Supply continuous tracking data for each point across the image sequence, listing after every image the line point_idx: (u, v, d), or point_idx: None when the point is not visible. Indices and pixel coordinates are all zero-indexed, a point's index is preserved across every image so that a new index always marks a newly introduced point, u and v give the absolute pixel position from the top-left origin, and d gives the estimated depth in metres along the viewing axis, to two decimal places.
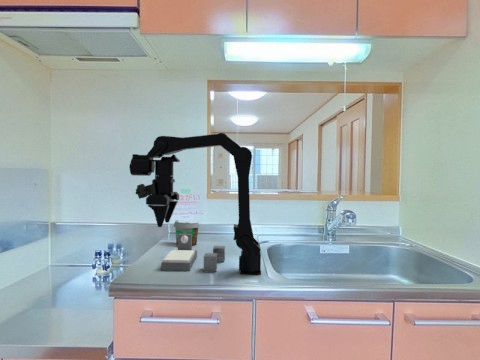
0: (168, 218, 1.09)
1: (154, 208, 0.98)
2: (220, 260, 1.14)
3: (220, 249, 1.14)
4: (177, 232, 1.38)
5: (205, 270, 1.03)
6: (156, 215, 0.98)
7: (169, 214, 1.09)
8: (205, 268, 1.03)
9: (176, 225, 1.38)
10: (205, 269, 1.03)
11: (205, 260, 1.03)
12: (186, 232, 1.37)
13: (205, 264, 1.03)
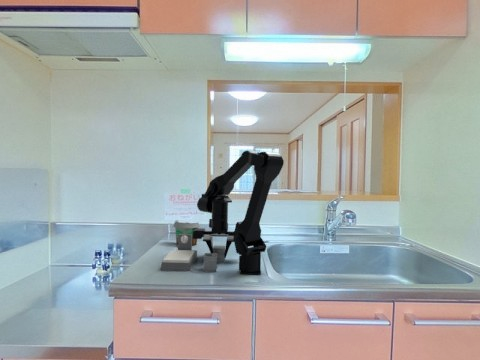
0: None
1: None
2: (220, 260, 1.14)
3: (220, 249, 1.14)
4: (177, 232, 1.38)
5: (205, 270, 1.03)
6: None
7: (225, 251, 1.16)
8: (205, 268, 1.03)
9: (176, 225, 1.38)
10: (205, 269, 1.03)
11: (205, 260, 1.03)
12: (186, 232, 1.37)
13: (205, 264, 1.03)
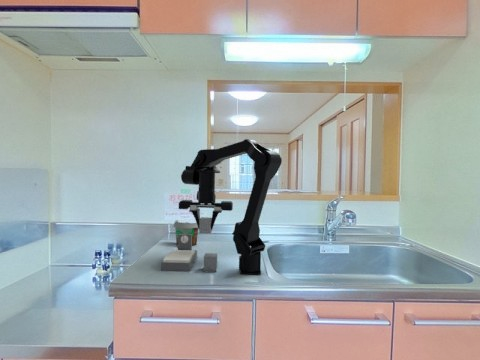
0: (211, 225, 1.15)
1: None
2: (206, 231, 1.14)
3: (206, 220, 1.14)
4: (177, 232, 1.38)
5: (205, 270, 1.03)
6: None
7: None
8: (205, 268, 1.03)
9: (176, 225, 1.38)
10: (205, 269, 1.03)
11: (205, 260, 1.03)
12: (186, 232, 1.37)
13: (205, 264, 1.03)
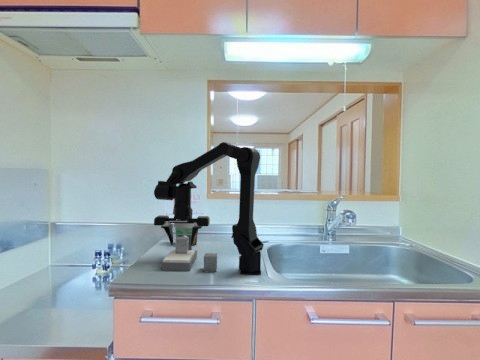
0: None
1: None
2: (183, 251, 1.12)
3: (183, 240, 1.12)
4: (177, 232, 1.38)
5: (205, 270, 1.03)
6: None
7: None
8: (205, 268, 1.03)
9: (176, 225, 1.38)
10: (205, 269, 1.03)
11: (205, 260, 1.03)
12: (186, 232, 1.37)
13: (205, 264, 1.03)
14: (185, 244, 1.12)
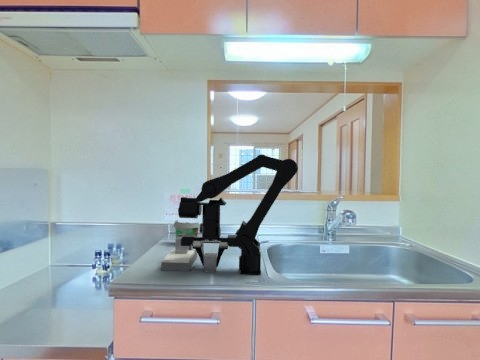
0: (216, 263, 1.05)
1: None
2: (183, 251, 1.12)
3: None
4: (177, 232, 1.38)
5: (205, 270, 1.03)
6: None
7: (217, 259, 1.05)
8: (205, 268, 1.03)
9: (176, 225, 1.38)
10: (205, 269, 1.03)
11: (205, 260, 1.03)
12: (186, 232, 1.37)
13: (205, 264, 1.03)
14: None
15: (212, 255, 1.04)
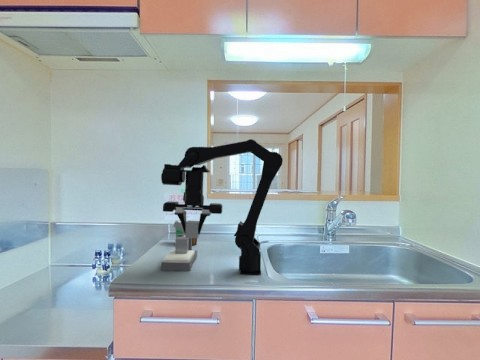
0: None
1: None
2: (183, 251, 1.12)
3: (183, 240, 1.12)
4: (177, 232, 1.38)
5: (187, 236, 1.04)
6: None
7: None
8: (187, 234, 1.04)
9: (176, 225, 1.38)
10: (187, 235, 1.04)
11: (187, 226, 1.04)
12: None
13: (187, 230, 1.04)
14: (185, 244, 1.12)
15: (194, 222, 1.05)
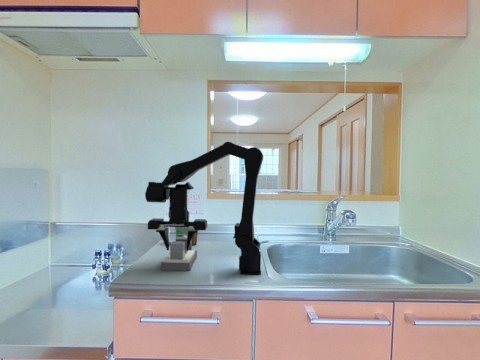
0: None
1: None
2: None
3: (183, 240, 1.12)
4: (177, 232, 1.38)
5: (172, 257, 1.05)
6: None
7: (187, 242, 1.06)
8: (172, 256, 1.05)
9: None
10: (172, 257, 1.05)
11: (172, 248, 1.05)
12: (186, 232, 1.37)
13: (172, 252, 1.05)
14: (185, 244, 1.12)
15: (179, 243, 1.06)
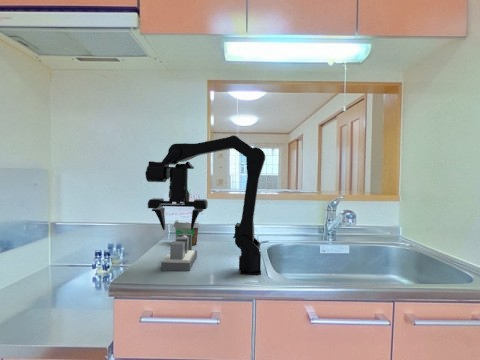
0: None
1: None
2: None
3: (183, 240, 1.12)
4: (177, 232, 1.38)
5: (172, 257, 1.05)
6: None
7: None
8: (172, 256, 1.05)
9: (176, 225, 1.38)
10: (172, 257, 1.05)
11: (172, 248, 1.05)
12: (186, 232, 1.37)
13: (172, 252, 1.05)
14: (185, 244, 1.12)
15: (179, 243, 1.06)
